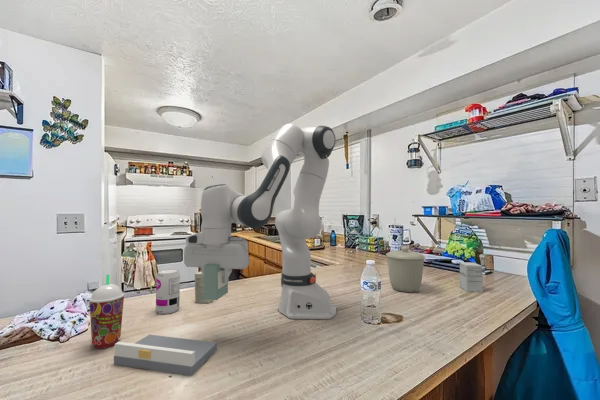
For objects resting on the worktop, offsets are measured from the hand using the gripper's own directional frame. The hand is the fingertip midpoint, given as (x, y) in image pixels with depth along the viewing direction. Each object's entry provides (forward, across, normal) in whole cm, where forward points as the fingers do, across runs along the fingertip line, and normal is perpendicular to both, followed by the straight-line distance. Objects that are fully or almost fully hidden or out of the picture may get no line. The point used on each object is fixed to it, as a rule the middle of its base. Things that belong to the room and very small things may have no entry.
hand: (216, 282), depth 83 cm
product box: (+4, 0, 0) cm, 4 cm away
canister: (+19, -65, -65) cm, 93 cm away
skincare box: (+17, +21, -28) cm, 39 cm away
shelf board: (+17, +7, +12) cm, 22 cm away
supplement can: (+17, +29, -16) cm, 37 cm away
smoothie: (+17, +29, +10) cm, 35 cm away
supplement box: (+19, -96, -71) cm, 120 cm away
